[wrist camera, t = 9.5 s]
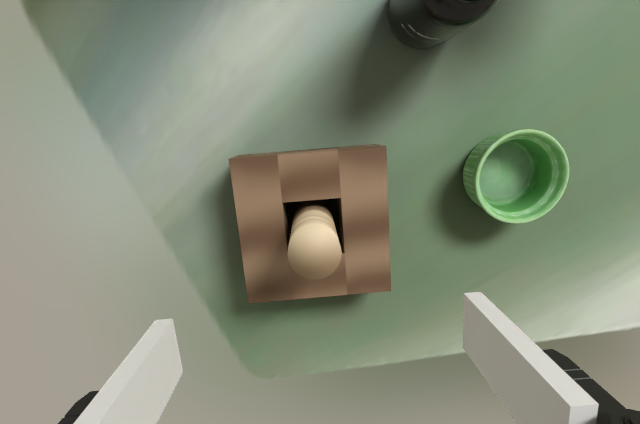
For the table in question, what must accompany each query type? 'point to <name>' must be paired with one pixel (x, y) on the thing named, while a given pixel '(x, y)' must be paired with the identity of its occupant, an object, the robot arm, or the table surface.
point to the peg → (314, 241)
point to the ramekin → (516, 175)
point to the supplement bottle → (433, 19)
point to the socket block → (303, 185)
